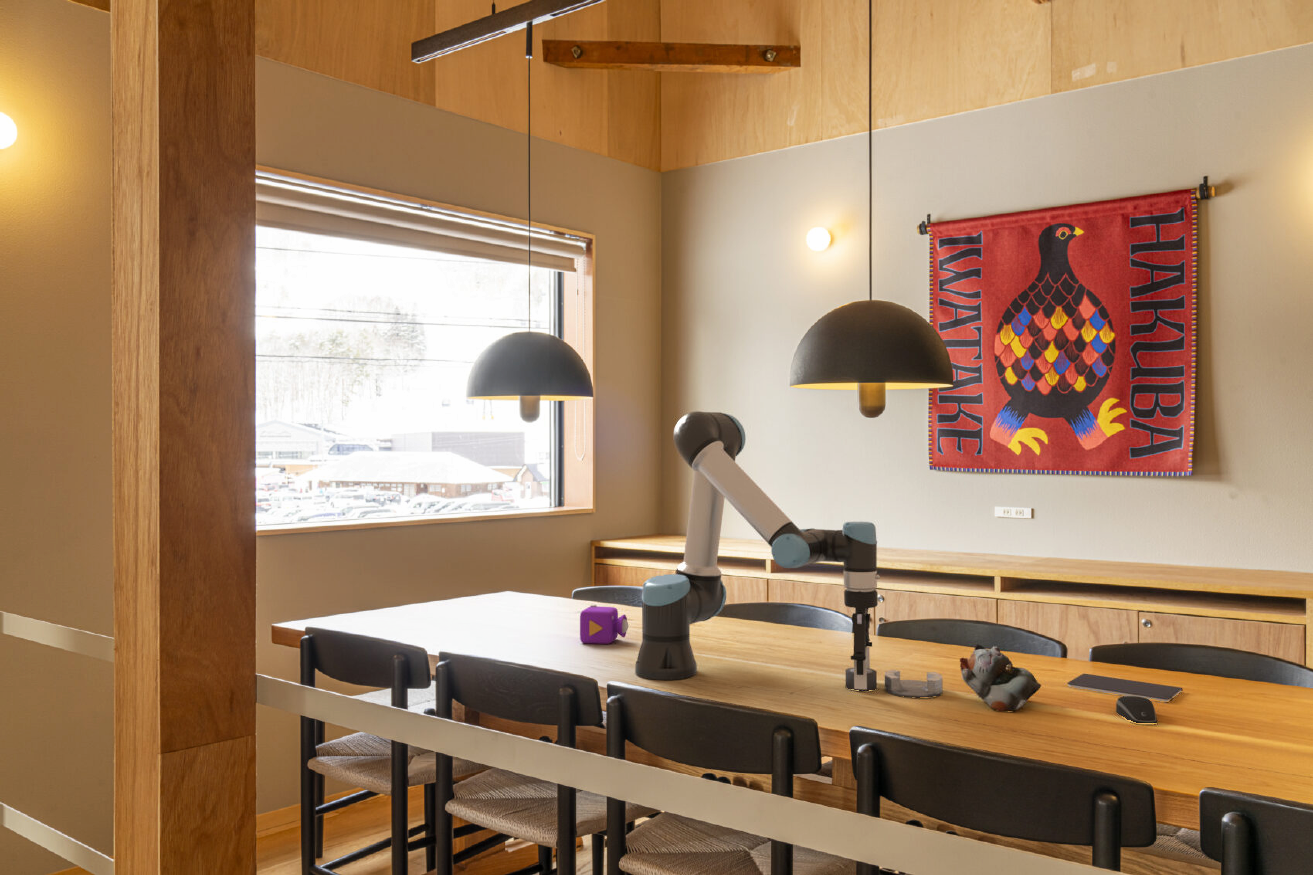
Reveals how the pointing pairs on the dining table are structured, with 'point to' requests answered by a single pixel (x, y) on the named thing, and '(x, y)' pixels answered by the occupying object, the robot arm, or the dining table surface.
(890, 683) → the barrel ring
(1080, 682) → the notebook
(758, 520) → the robot arm
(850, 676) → the cylinder
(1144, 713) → the computer mouse
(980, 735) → the dining table surface
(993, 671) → the lucky cat figurine
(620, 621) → the toy camera
